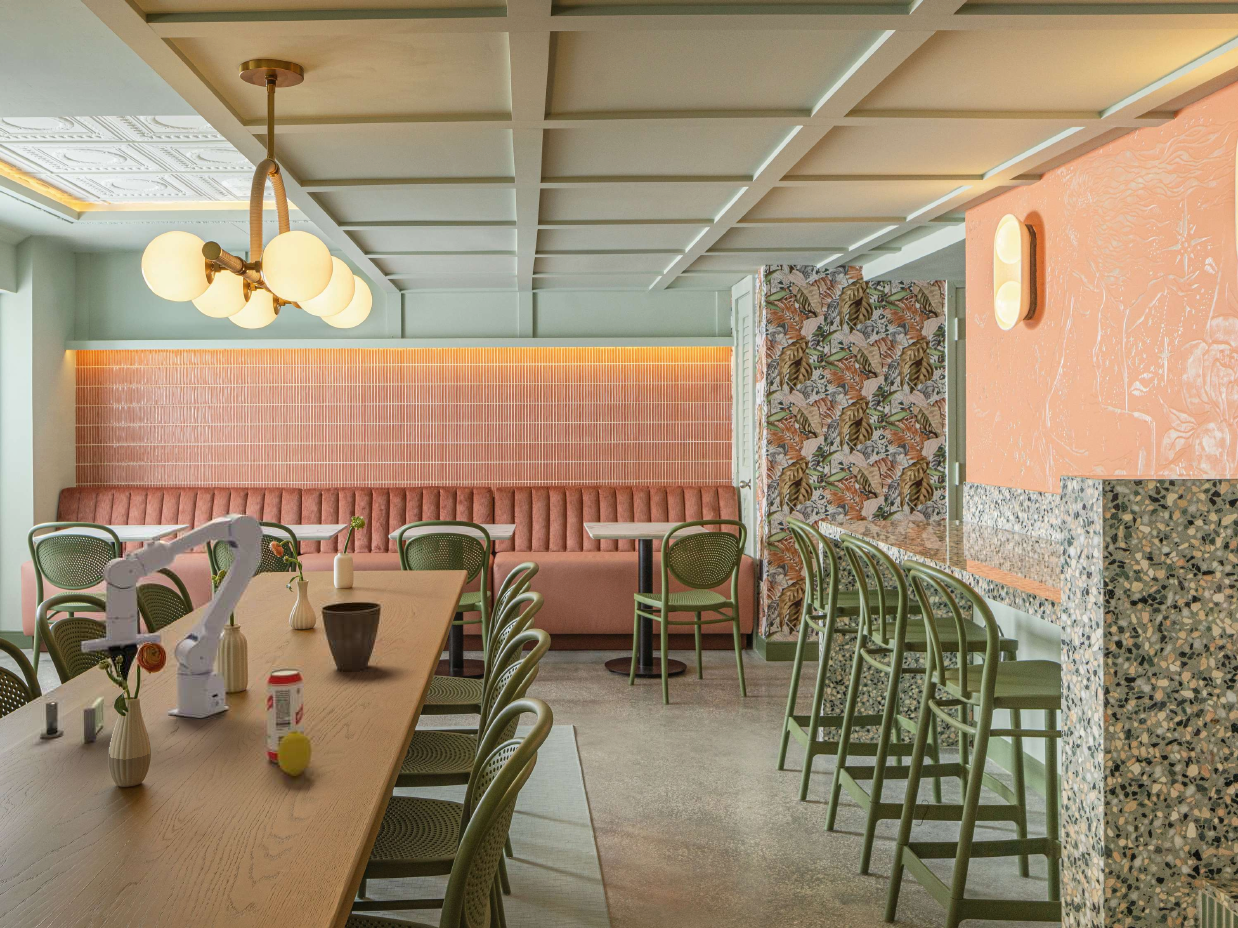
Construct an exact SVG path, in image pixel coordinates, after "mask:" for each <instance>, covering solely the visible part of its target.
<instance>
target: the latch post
mask: <svg viewBox="0 0 1238 928" xmlns="http://www.w3.org/2000/svg"><path fill="white" fill-rule="evenodd" d="M58 711H59V709H58V702H57V701H51V702H46V703H45V726H46V727H45V729H46V730H45V731H43V732H42V733H40V735H39V737H40V739H43V740H49V739H56V738H60V737H63V736H64V735H65V731H64V730H61V729H59V719H58V718H59V717H58V716H59V715H58V714H59V713H58Z"/></svg>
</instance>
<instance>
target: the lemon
mask: <svg viewBox="0 0 1238 928" xmlns="http://www.w3.org/2000/svg"><path fill="white" fill-rule="evenodd" d="M311 759H312V747H311V743H310V740H309V738H308V737H307V736H306V734H302V733H300V732H297V731H296V730H293V731H292V732H291V733H289V734H287V735H286V736H285V737H284V738H283V739H282V740H281V742H280V745H279V748H278V762H279V763H278V765H279V766H280V768H281V770H283V772H286V773H288V774H290V775H291V776H292V777H297V776H298V775H299V774H300V773H301V772H302V771H304V770H306V768H307V767H308V766H309V764H310V762H311Z"/></svg>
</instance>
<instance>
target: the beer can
mask: <svg viewBox="0 0 1238 928" xmlns="http://www.w3.org/2000/svg"><path fill="white" fill-rule="evenodd" d="M269 674H270V676H269V677H268V680H267V683H266V692H267V694H266V695H267V696H266V697H267V698H266V699H267V700H266V707H267V715H266V716H267V719H266V720H267V721H266V722H267V725H266V726H267V757H268V759H269V760H271V761H272V762H273V763H277V764H279V762H278V748H279V745H280V742H281V740H282V739H283V738H284V737H285V736H286V735H287V734H289V733H291V732H292V731H293V730H296V731H297V732H300V733H302V734H304V685H303V684H304V681H303V678H302V676H301V674H300V670H299V669H297V668H281V669H276V670H272V671H271V672H269ZM304 735H305V734H304Z"/></svg>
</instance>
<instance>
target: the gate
mask: <svg viewBox="0 0 1238 928" xmlns="http://www.w3.org/2000/svg"><path fill="white" fill-rule="evenodd" d="M104 723H105V696H98V697H97V699H96V700H95V702H93V704H92V705H91V706H90V707H88V708H84V709H83V741H84V742H93V741H96V740H97V737H96V735H97V733H98V731H99V730H100V728H101V727H103V725H104Z"/></svg>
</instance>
